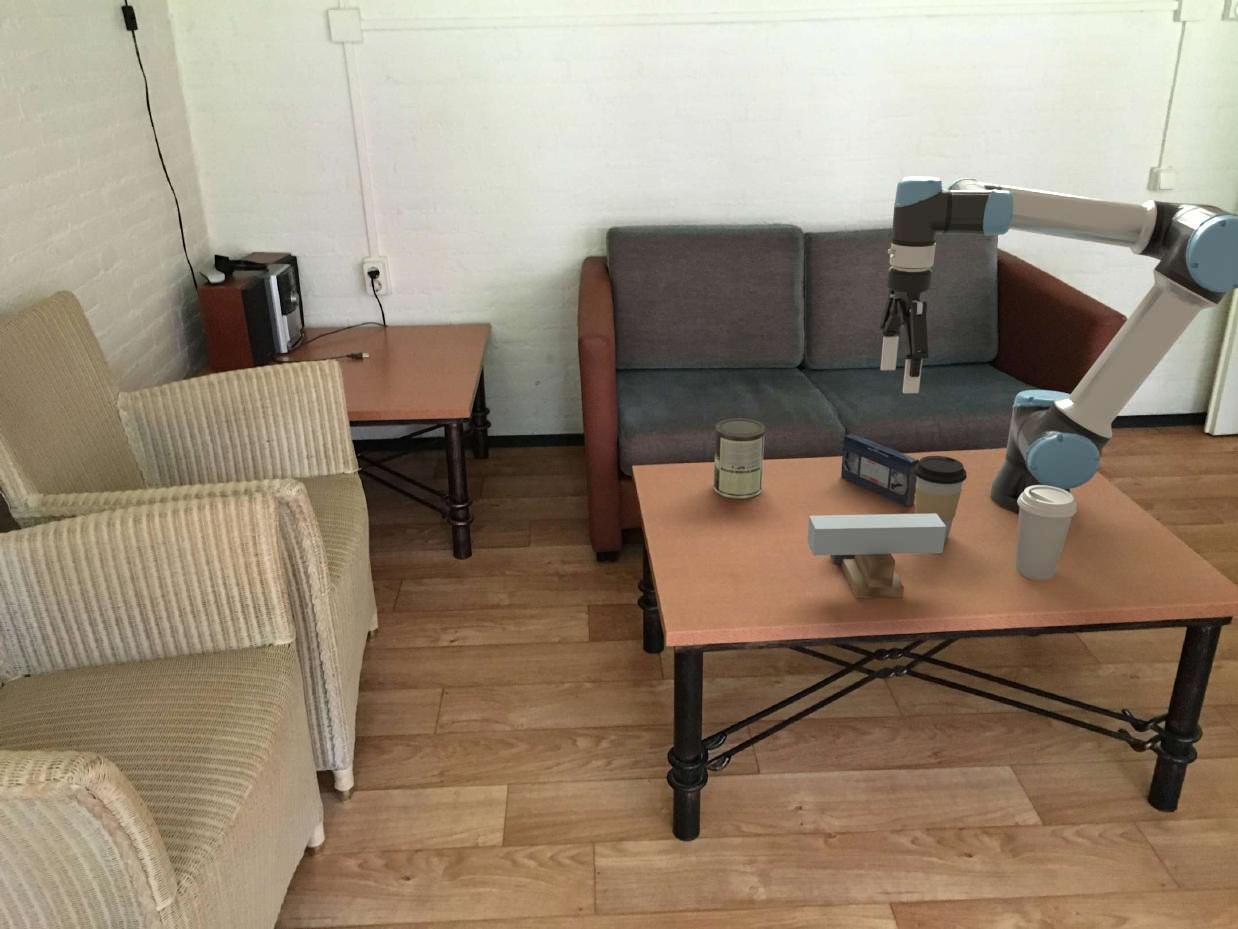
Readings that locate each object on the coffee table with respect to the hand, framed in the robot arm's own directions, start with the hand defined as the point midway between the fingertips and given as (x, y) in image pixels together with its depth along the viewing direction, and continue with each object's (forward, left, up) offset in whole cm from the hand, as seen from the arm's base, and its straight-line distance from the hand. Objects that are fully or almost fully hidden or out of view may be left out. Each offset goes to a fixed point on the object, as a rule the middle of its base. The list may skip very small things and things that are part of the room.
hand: (898, 380), depth 183 cm
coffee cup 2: (-21, +22, -29) cm, 42 cm away
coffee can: (+27, -15, -29) cm, 42 cm away
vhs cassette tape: (-2, -13, -29) cm, 32 cm away
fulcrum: (+9, +25, -29) cm, 39 cm away
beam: (+9, +25, -22) cm, 34 cm away
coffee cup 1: (-7, +8, -29) cm, 31 cm away
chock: (+9, +17, -29) cm, 34 cm away
